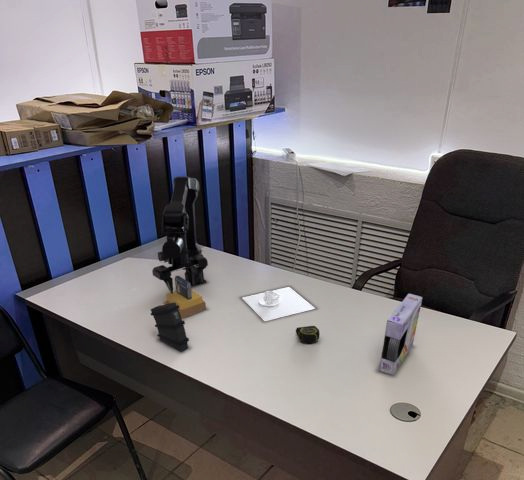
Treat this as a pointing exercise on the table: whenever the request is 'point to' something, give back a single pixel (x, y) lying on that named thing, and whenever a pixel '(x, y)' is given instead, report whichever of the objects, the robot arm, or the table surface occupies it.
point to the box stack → (187, 303)
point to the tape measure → (308, 334)
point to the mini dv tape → (183, 287)
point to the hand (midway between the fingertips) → (183, 289)
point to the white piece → (277, 303)
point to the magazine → (170, 326)
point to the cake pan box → (400, 333)
